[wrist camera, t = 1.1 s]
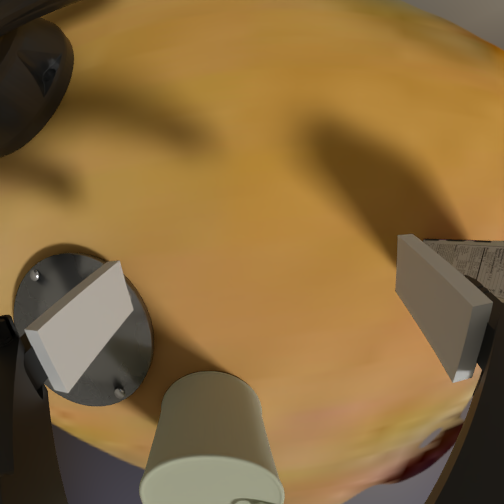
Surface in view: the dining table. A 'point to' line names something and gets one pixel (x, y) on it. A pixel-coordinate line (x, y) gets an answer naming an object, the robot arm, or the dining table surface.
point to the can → (210, 446)
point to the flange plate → (116, 349)
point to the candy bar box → (475, 260)
